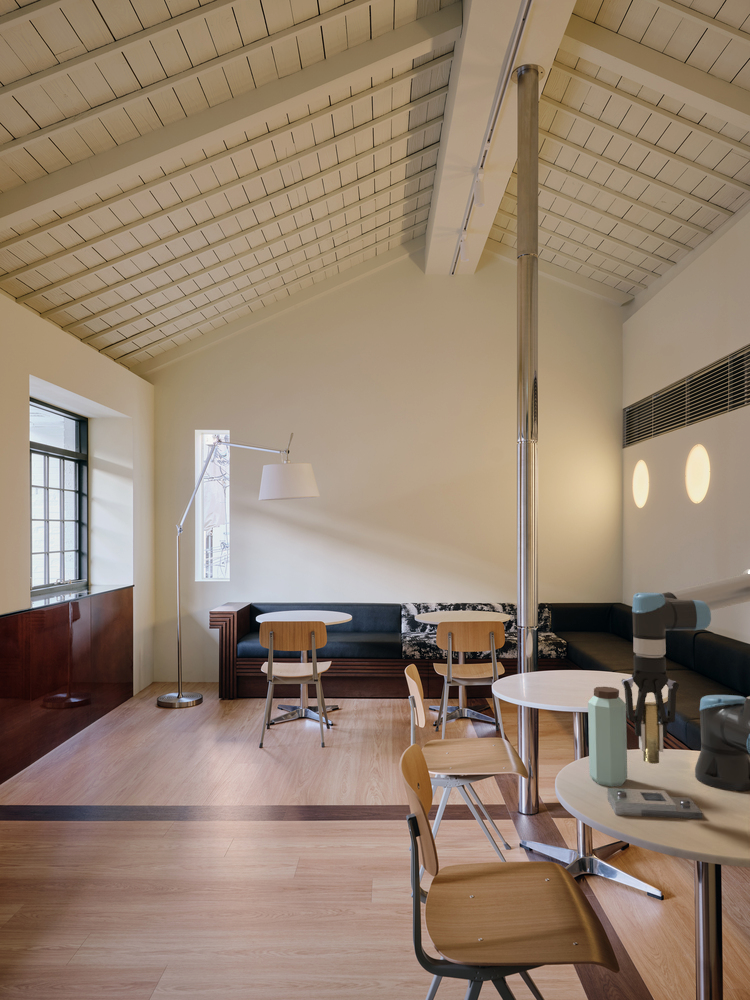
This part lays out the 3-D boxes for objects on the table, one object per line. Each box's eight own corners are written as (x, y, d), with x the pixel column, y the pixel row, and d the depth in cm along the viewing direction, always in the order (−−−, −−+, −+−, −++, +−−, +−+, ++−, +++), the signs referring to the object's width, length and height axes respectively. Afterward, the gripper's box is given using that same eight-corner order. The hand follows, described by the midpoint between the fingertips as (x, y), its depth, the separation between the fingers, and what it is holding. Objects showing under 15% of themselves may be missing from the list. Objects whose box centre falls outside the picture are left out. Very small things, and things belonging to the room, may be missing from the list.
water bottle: (630, 789, 176) (628, 694, 177) (591, 786, 178) (589, 692, 179) (624, 775, 186) (622, 686, 187) (587, 773, 188) (585, 684, 189)
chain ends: (689, 803, 166) (689, 788, 166) (702, 819, 157) (702, 803, 157) (607, 799, 169) (607, 785, 169) (615, 814, 160) (615, 799, 160)
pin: (656, 759, 165) (655, 702, 166) (661, 763, 161) (660, 706, 162) (641, 758, 165) (640, 701, 166) (645, 763, 162) (644, 705, 163)
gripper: (679, 653, 167) (681, 746, 166) (611, 651, 170) (613, 743, 168) (689, 658, 160) (691, 756, 159) (618, 656, 162) (619, 753, 161)
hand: (651, 749), depth 164 cm, fingers closed on pin, 3 cm apart
